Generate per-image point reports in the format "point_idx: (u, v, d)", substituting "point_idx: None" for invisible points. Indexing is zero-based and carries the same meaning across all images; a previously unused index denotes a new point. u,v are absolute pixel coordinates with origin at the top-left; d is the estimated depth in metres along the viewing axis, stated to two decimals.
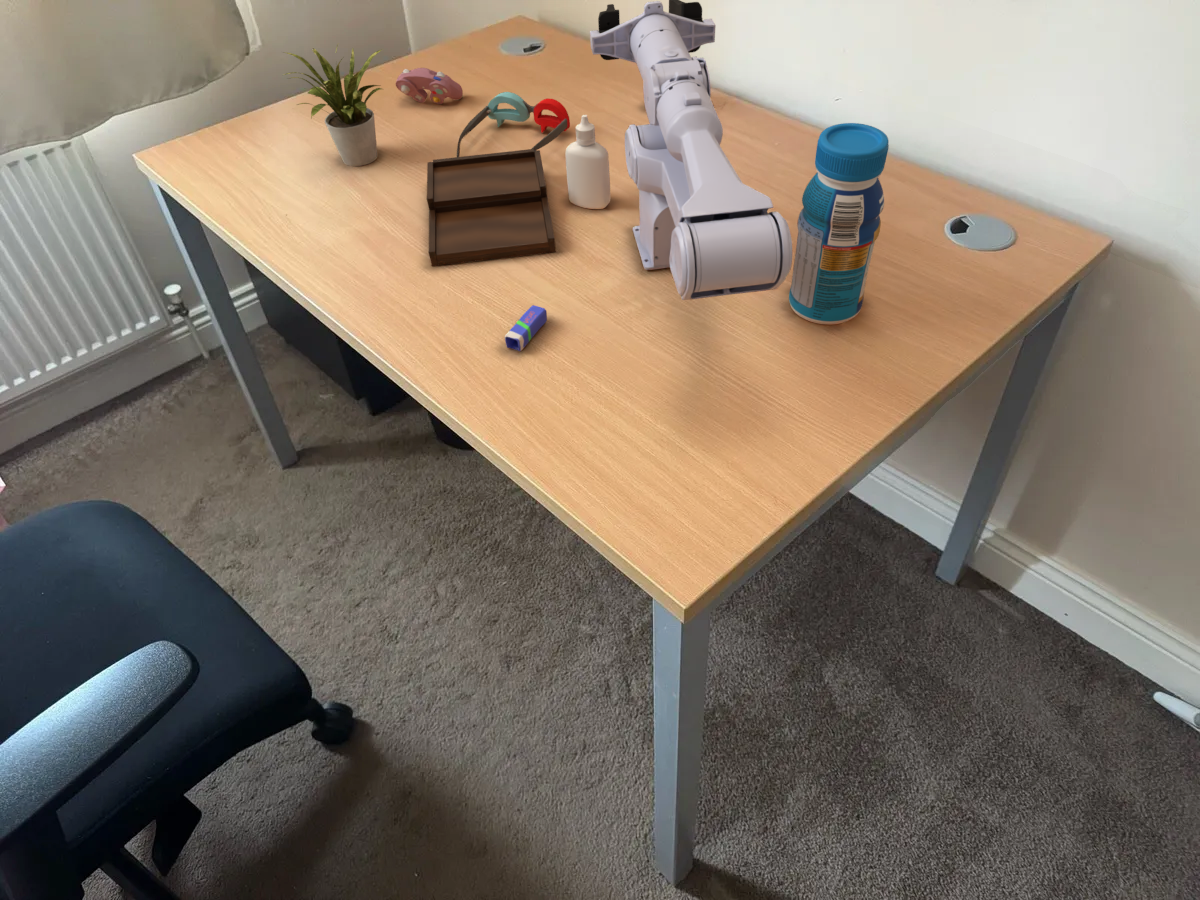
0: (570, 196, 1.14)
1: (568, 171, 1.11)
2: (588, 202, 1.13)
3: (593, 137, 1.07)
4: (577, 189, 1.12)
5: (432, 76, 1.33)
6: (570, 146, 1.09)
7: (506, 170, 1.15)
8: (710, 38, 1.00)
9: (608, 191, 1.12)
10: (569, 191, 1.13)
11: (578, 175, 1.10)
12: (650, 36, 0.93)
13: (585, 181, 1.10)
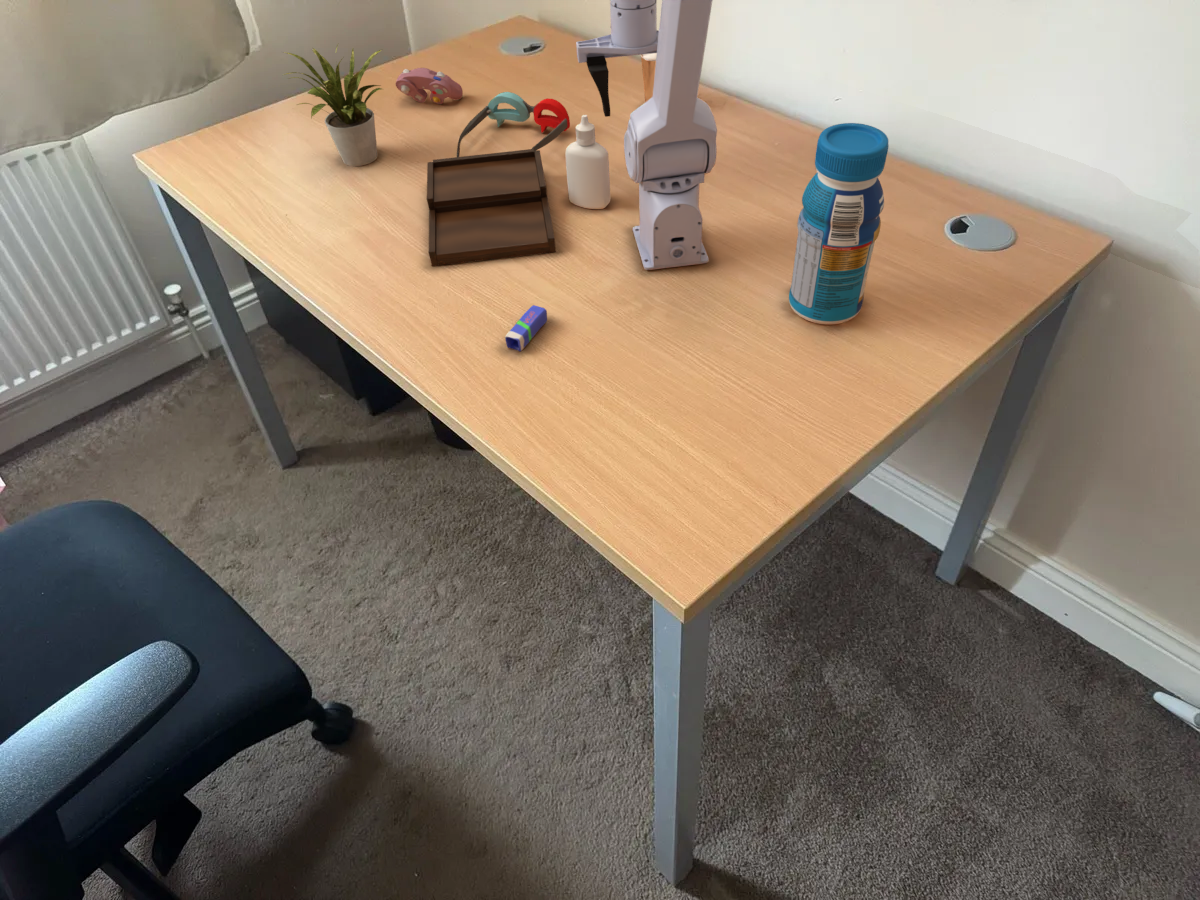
0: (570, 196, 1.14)
1: (568, 171, 1.11)
2: (588, 202, 1.13)
3: (593, 137, 1.07)
4: (577, 189, 1.12)
5: (432, 76, 1.33)
6: (570, 146, 1.09)
7: (506, 170, 1.15)
8: None
9: (608, 191, 1.12)
10: (569, 191, 1.13)
11: (578, 175, 1.10)
12: None
13: (585, 181, 1.10)
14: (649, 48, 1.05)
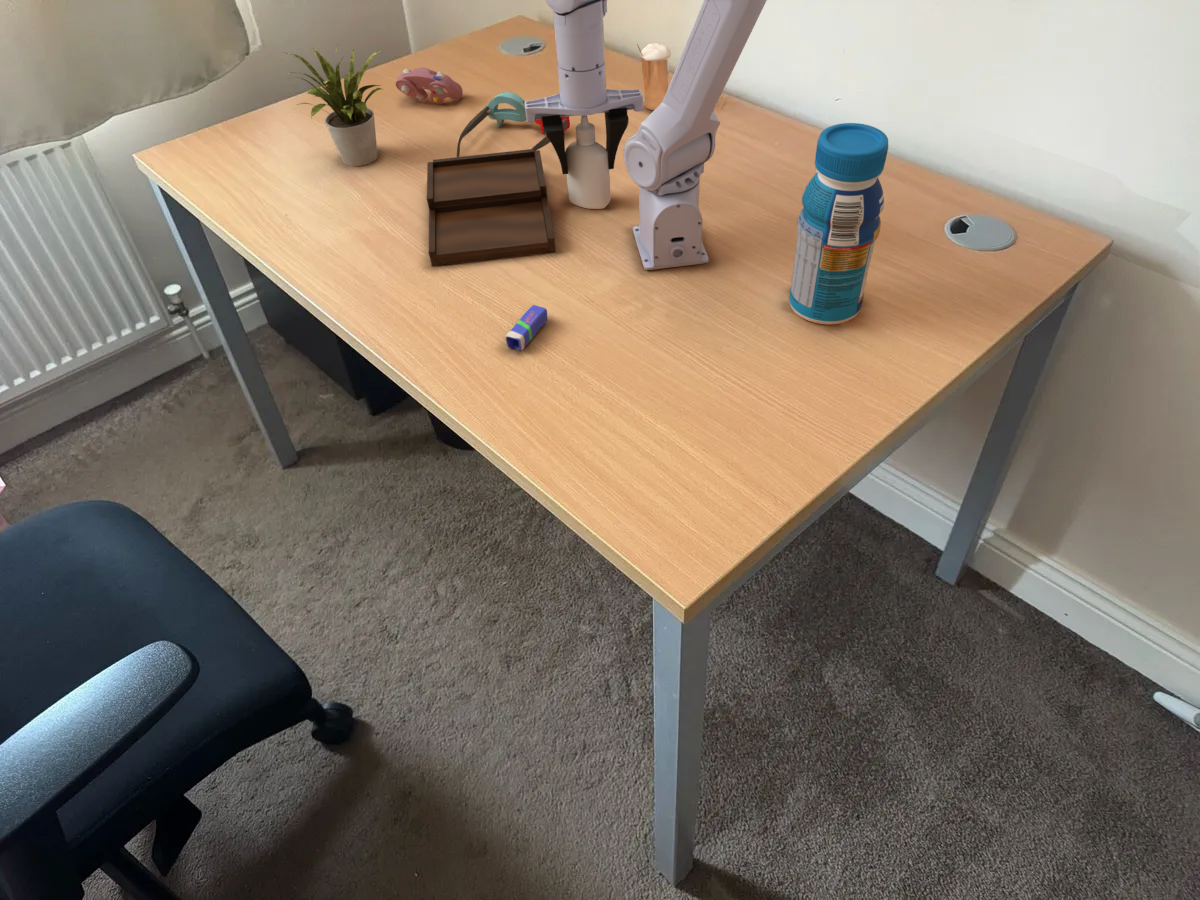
0: (570, 196, 1.14)
1: (568, 171, 1.11)
2: (588, 202, 1.13)
3: (593, 137, 1.07)
4: (577, 189, 1.12)
5: (432, 76, 1.33)
6: (570, 146, 1.09)
7: (506, 170, 1.15)
8: None
9: (608, 191, 1.12)
10: (569, 191, 1.13)
11: (578, 175, 1.10)
12: None
13: (585, 181, 1.10)
14: (598, 109, 1.03)
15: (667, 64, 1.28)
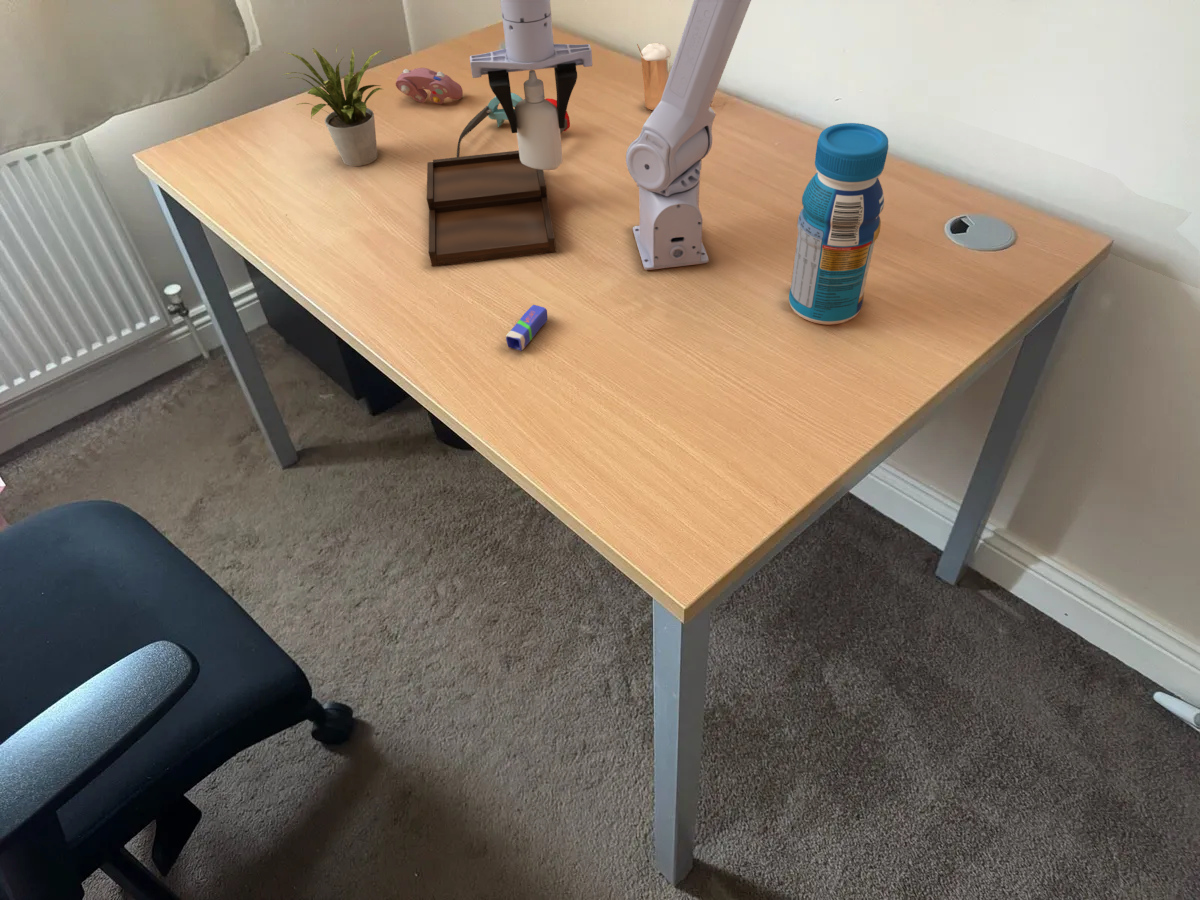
0: (521, 157, 1.11)
1: (518, 130, 1.08)
2: (539, 163, 1.09)
3: (542, 94, 1.04)
4: (527, 149, 1.09)
5: (432, 76, 1.33)
6: (519, 104, 1.06)
7: (506, 170, 1.15)
8: None
9: (559, 151, 1.09)
10: (520, 151, 1.10)
11: (527, 134, 1.07)
12: None
13: (535, 140, 1.07)
14: (545, 63, 1.00)
15: (667, 64, 1.28)
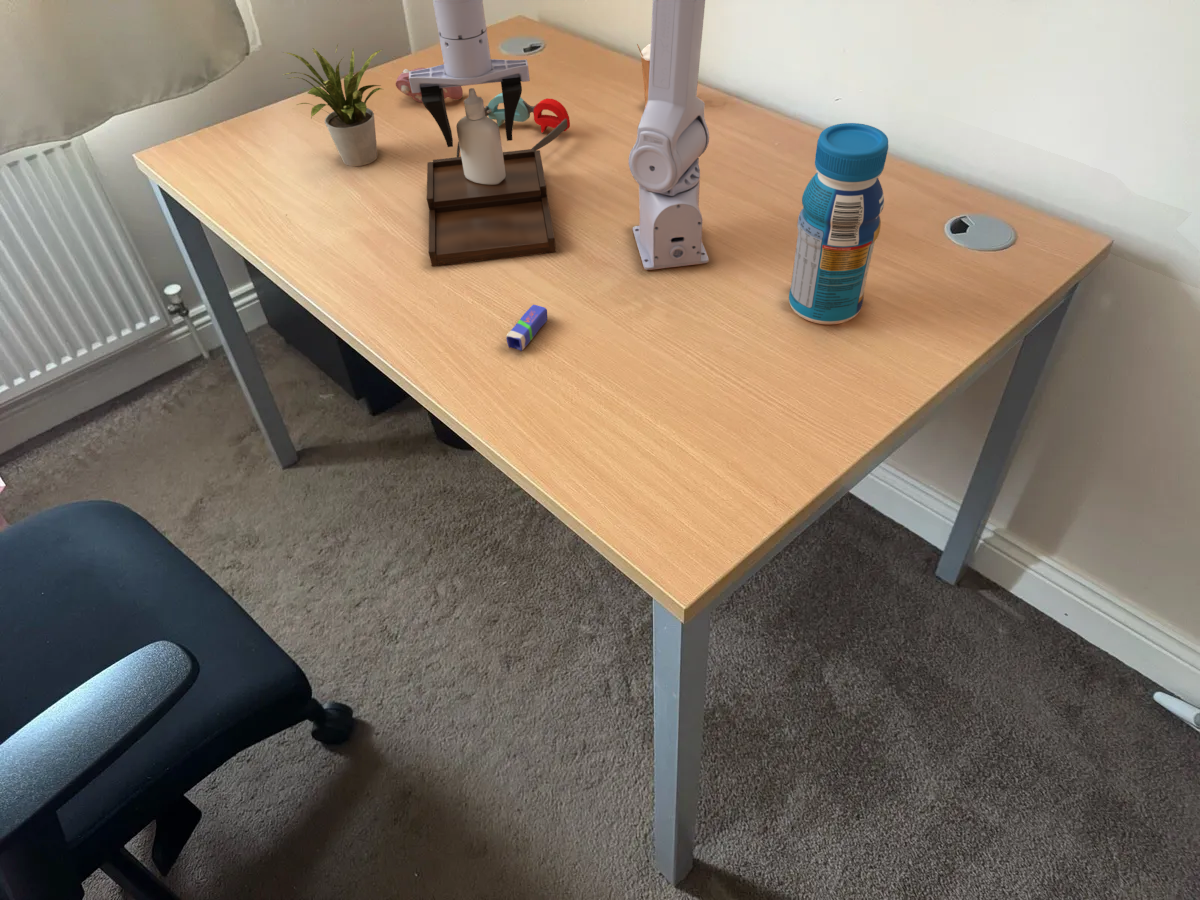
0: (465, 172, 1.13)
1: (460, 146, 1.11)
2: (482, 178, 1.12)
3: (482, 111, 1.07)
4: (470, 164, 1.11)
5: None
6: (460, 120, 1.08)
7: (506, 170, 1.15)
8: None
9: (502, 166, 1.12)
10: (464, 167, 1.13)
11: (470, 150, 1.10)
12: None
13: (477, 156, 1.10)
14: (482, 78, 1.02)
15: None
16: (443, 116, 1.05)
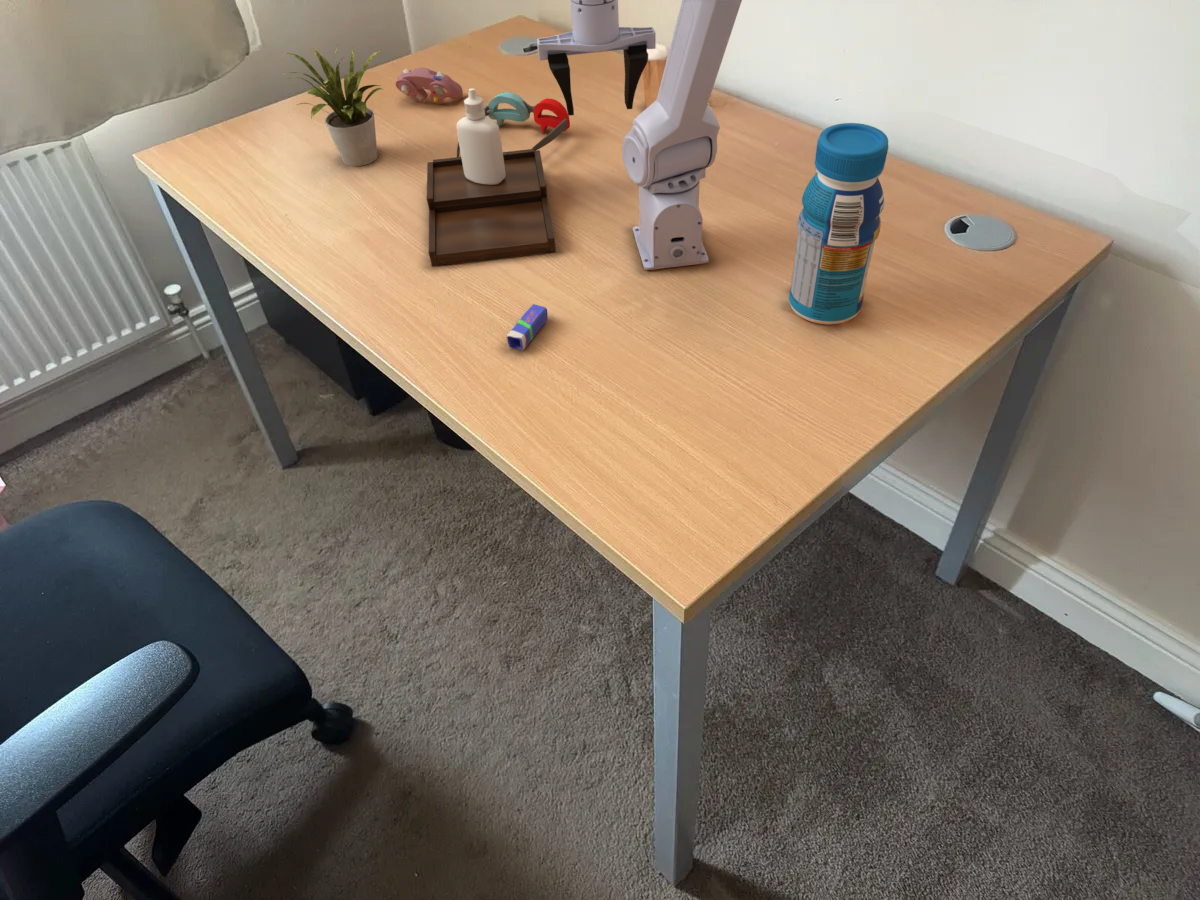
0: (465, 172, 1.13)
1: (460, 146, 1.11)
2: (482, 178, 1.12)
3: (482, 111, 1.07)
4: (470, 164, 1.11)
5: (432, 76, 1.33)
6: (460, 120, 1.08)
7: (506, 170, 1.15)
8: None
9: (502, 166, 1.12)
10: (463, 167, 1.13)
11: (469, 150, 1.10)
12: None
13: (477, 156, 1.10)
14: (611, 45, 1.03)
15: None
16: (568, 83, 1.06)
